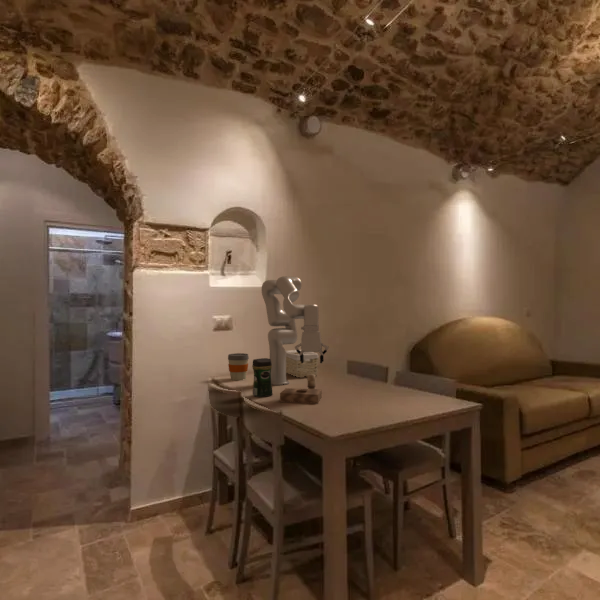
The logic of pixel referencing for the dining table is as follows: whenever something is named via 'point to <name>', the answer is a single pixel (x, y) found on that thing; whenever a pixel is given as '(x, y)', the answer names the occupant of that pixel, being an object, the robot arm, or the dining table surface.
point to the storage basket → (300, 368)
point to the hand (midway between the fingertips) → (311, 363)
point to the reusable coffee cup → (238, 365)
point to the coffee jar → (262, 377)
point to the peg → (311, 381)
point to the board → (301, 395)
